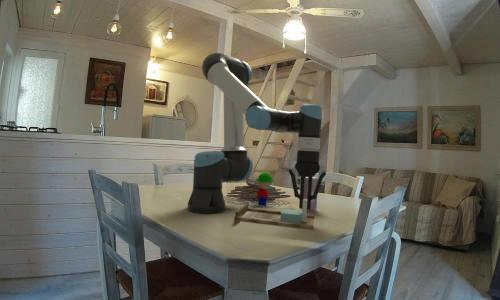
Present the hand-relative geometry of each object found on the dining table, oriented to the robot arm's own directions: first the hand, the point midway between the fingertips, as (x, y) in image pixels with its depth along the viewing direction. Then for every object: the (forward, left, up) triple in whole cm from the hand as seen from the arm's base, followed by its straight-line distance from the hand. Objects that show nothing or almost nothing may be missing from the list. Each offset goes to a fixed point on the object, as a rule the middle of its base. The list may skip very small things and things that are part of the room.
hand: (304, 218), depth 102 cm
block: (-4, 0, -1) cm, 4 cm away
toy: (-19, +26, -3) cm, 32 cm away
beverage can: (+1, +21, -3) cm, 21 cm away
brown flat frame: (-10, 0, -3) cm, 10 cm away
